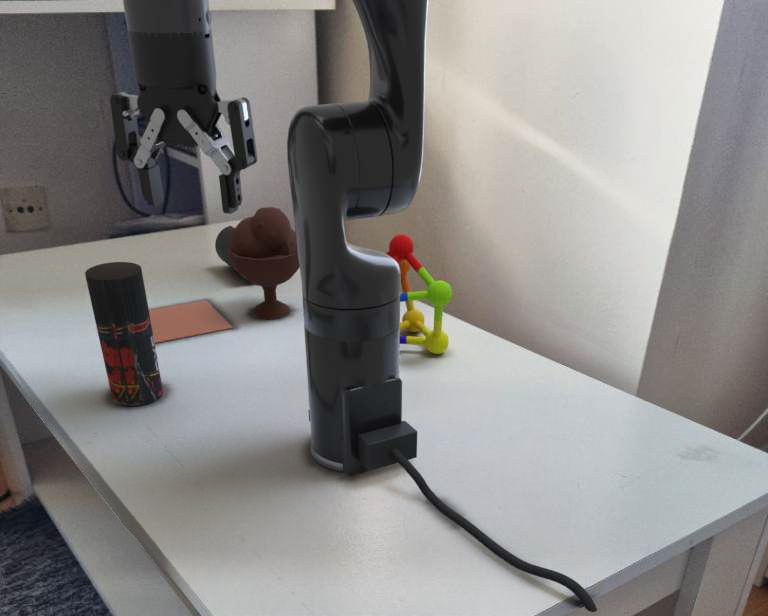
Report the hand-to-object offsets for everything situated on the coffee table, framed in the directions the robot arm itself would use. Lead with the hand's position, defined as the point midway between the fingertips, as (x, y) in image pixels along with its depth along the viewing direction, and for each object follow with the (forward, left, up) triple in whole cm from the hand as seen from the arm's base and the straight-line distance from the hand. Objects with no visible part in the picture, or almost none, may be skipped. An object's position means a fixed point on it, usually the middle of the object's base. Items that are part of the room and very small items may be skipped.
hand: (193, 208), depth 83 cm
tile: (+25, -3, -22) cm, 34 cm away
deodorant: (+5, +8, -22) cm, 24 cm away
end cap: (+39, -19, -22) cm, 49 cm away
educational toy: (+2, -26, -22) cm, 34 cm away
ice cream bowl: (+22, -16, -22) cm, 35 cm away
